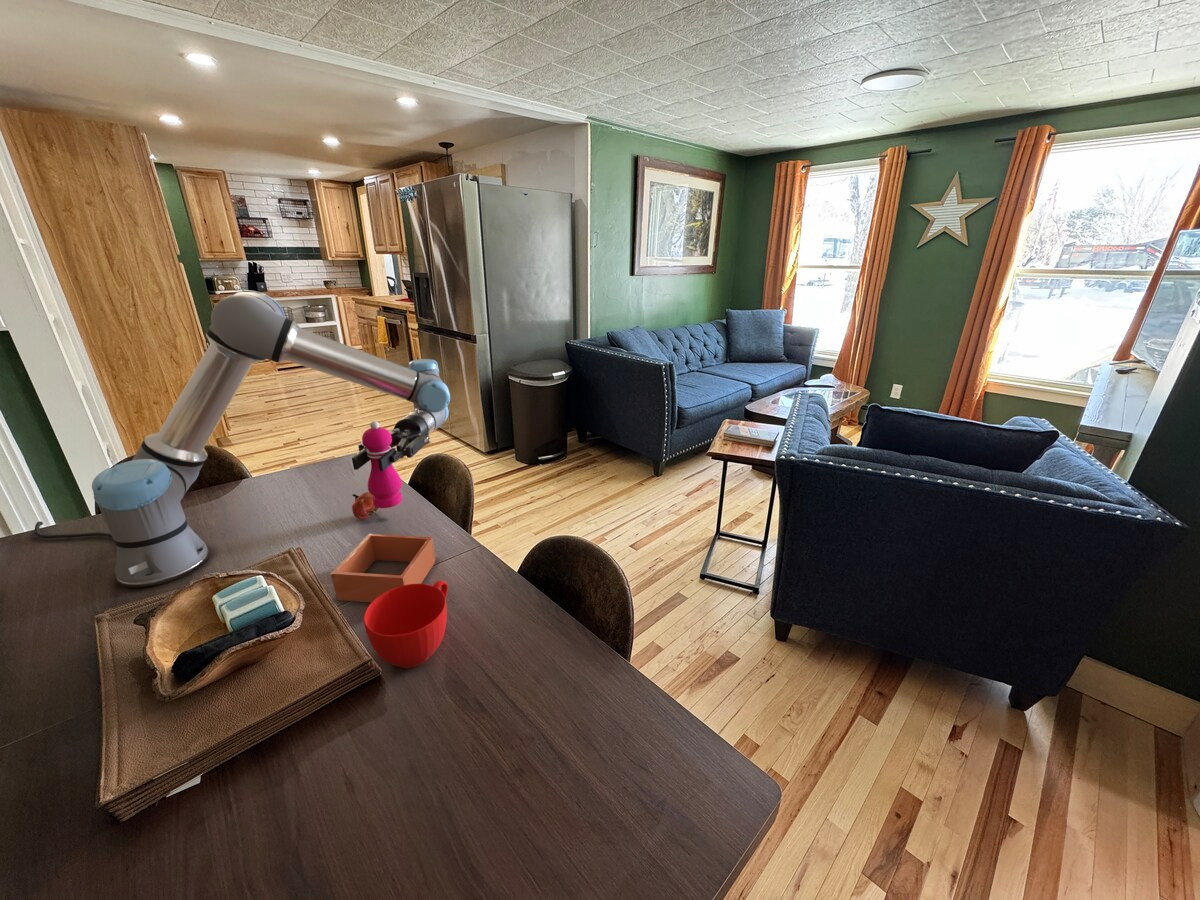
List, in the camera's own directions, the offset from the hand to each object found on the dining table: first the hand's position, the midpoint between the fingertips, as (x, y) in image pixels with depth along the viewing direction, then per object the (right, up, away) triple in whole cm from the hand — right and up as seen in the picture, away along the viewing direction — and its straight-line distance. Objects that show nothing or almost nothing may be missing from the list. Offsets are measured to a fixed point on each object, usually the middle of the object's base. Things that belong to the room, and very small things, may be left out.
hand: (367, 464), depth 101 cm
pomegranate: (-11, -15, +24) cm, 31 cm away
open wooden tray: (+4, -25, +1) cm, 25 cm away
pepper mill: (0, -9, +10) cm, 13 cm away
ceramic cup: (+18, -32, -16) cm, 40 cm away
